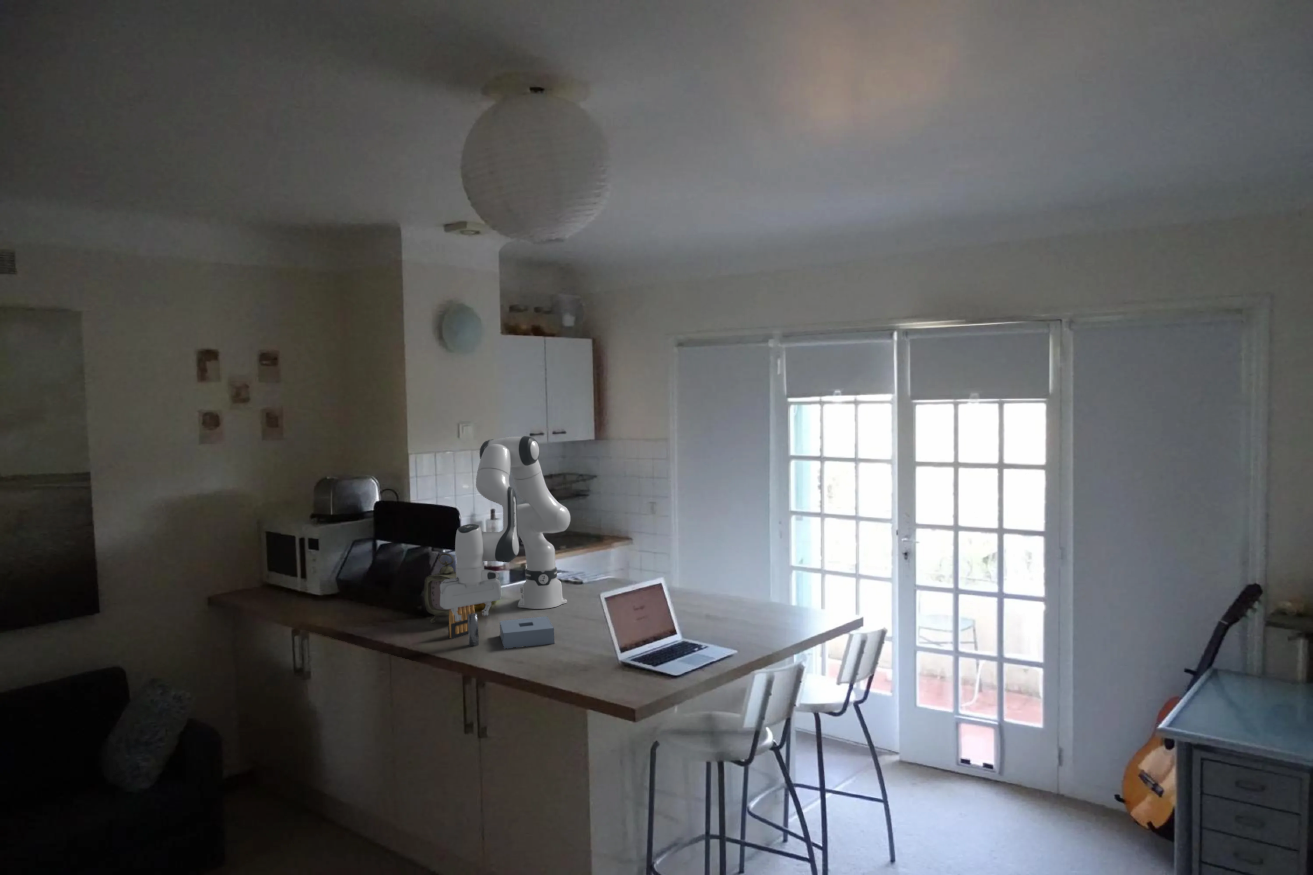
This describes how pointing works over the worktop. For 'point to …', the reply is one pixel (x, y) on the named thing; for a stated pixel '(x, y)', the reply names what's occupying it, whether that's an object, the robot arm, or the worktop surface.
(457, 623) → the ammunition clip
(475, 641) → the steel pin
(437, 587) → the tabletop clock
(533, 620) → the bore block
